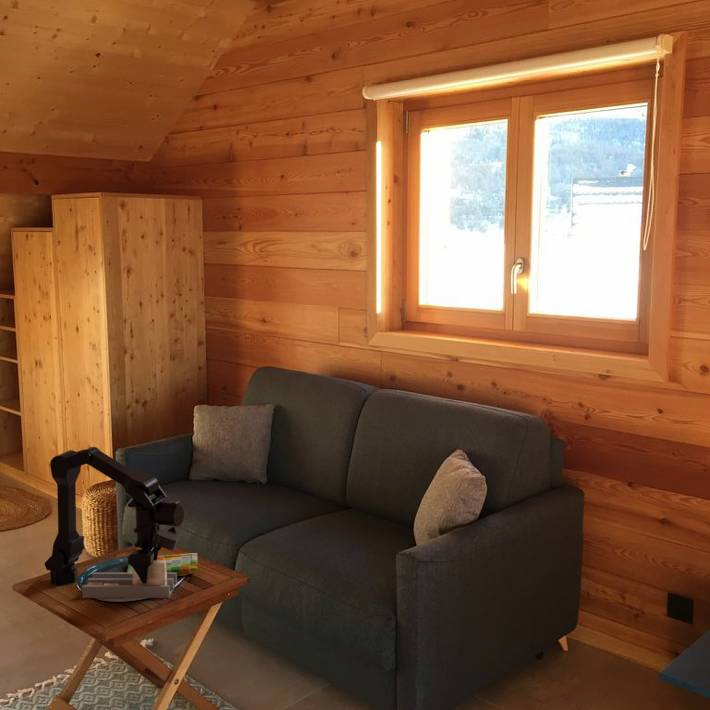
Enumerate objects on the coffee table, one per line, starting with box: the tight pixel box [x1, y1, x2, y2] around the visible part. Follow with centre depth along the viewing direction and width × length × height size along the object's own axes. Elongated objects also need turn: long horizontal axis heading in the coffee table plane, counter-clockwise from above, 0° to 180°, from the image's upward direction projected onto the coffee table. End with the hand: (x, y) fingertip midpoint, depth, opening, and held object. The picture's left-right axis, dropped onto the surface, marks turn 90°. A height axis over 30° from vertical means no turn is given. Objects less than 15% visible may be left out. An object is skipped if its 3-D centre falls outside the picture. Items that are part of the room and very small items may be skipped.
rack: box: [81, 571, 178, 599], centre depth 246 cm, size 24×10×4 cm, turn 89°
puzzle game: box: [126, 552, 199, 577], centre depth 260 cm, size 12×5×20 cm
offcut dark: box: [86, 582, 103, 585], centre depth 245 cm, size 4×2×2 cm, turn 89°
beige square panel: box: [132, 561, 167, 585], centre depth 244 cm, size 9×2×9 cm, turn 89°
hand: (149, 576), depth 244 cm, fingers open, 9 cm apart
